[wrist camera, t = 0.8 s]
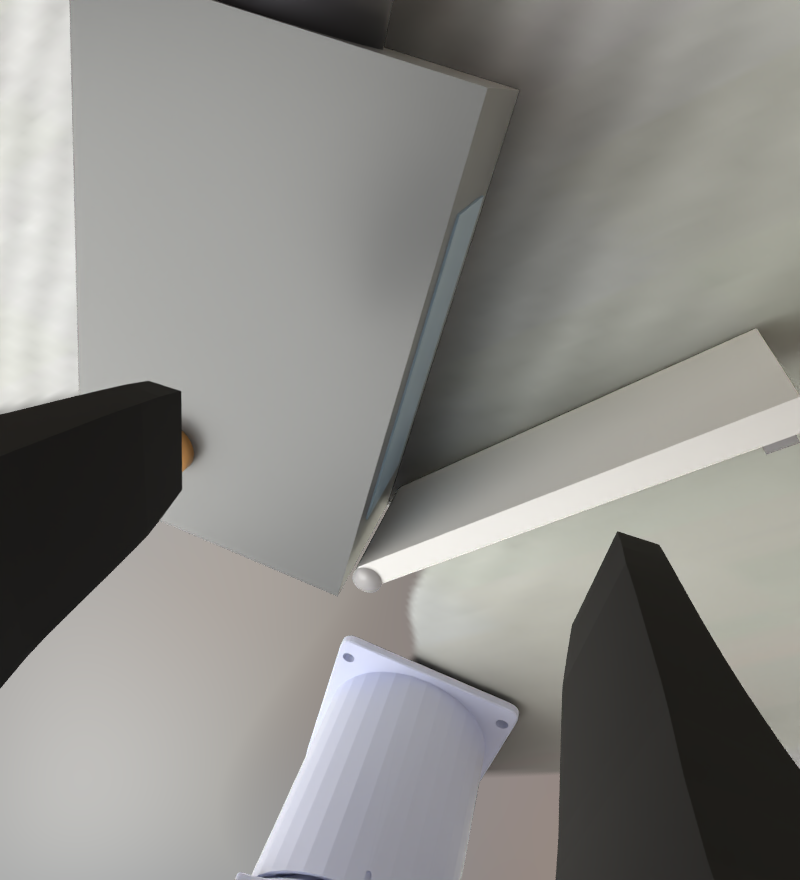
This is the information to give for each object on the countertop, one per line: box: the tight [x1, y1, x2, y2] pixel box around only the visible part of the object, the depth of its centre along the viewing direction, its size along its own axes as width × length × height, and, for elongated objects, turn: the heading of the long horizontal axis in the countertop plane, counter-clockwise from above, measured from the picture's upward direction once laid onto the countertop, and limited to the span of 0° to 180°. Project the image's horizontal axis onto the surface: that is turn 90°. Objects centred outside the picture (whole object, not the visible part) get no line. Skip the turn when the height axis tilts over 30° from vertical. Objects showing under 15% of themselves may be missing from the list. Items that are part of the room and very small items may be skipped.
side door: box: [353, 328, 800, 592], centre depth 18 cm, size 12×1×5 cm, turn 125°
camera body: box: [70, 0, 520, 596], centre depth 17 cm, size 16×9×6 cm, turn 165°
